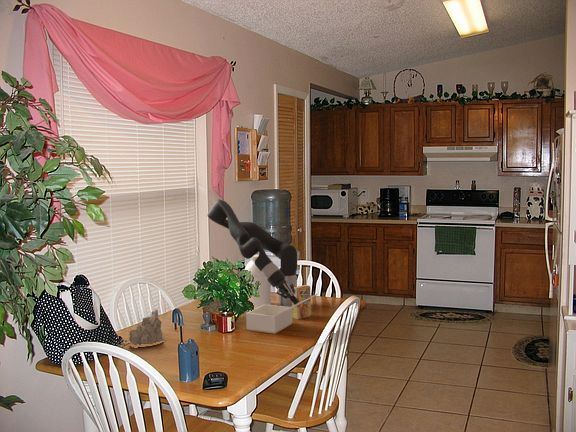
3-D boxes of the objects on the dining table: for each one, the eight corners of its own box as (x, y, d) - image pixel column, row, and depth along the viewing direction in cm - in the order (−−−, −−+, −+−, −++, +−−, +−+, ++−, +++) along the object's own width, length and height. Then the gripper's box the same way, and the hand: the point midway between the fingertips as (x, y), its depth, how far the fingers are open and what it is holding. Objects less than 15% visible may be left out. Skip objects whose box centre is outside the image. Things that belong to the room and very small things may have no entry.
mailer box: (246, 330, 268) (246, 313, 268) (265, 320, 283) (264, 304, 282) (275, 333, 261) (274, 316, 260) (292, 323, 276) (292, 307, 275)
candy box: (305, 314, 292) (304, 284, 290) (311, 316, 288) (310, 285, 287) (292, 318, 286) (291, 287, 284) (297, 319, 283) (296, 288, 281)
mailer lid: (274, 315, 260) (300, 302, 253) (292, 306, 275) (317, 293, 268) (275, 316, 260) (300, 303, 253) (292, 307, 275) (317, 294, 268)
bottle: (241, 306, 311) (239, 254, 308) (265, 303, 317) (263, 252, 314) (250, 312, 298) (248, 258, 295) (275, 308, 304) (273, 256, 301)
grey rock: (160, 334, 266) (157, 302, 264) (168, 345, 251) (164, 312, 249) (125, 341, 260) (121, 309, 258) (131, 353, 245) (127, 319, 243)
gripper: (275, 277, 275) (298, 305, 271) (260, 282, 264) (285, 312, 259) (284, 266, 272) (308, 295, 268) (270, 272, 261) (295, 301, 256)
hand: (297, 303), depth 264 cm, fingers closed
